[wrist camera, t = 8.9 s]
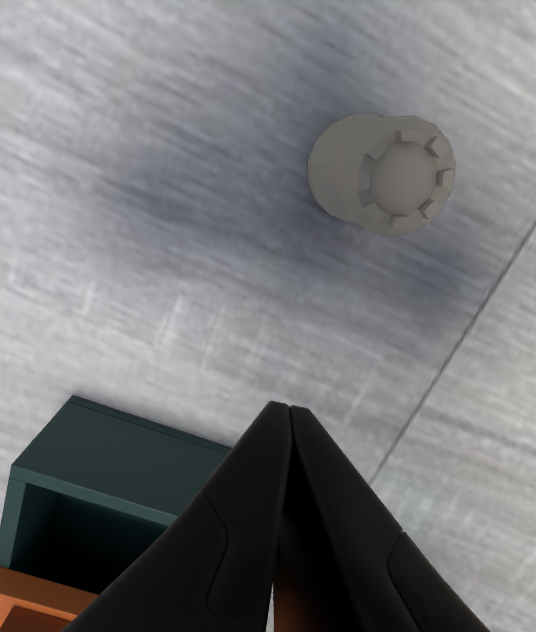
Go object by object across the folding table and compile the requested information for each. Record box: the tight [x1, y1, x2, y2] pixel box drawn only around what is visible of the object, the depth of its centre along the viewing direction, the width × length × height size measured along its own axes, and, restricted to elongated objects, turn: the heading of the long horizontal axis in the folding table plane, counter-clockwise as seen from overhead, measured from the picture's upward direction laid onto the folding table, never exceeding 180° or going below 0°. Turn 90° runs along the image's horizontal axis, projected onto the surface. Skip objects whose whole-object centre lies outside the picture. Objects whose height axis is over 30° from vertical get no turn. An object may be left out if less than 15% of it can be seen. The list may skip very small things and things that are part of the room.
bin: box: [0, 396, 231, 595], centre depth 25 cm, size 19×12×6 cm, turn 159°
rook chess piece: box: [308, 113, 456, 235], centre depth 15 cm, size 4×4×8 cm
